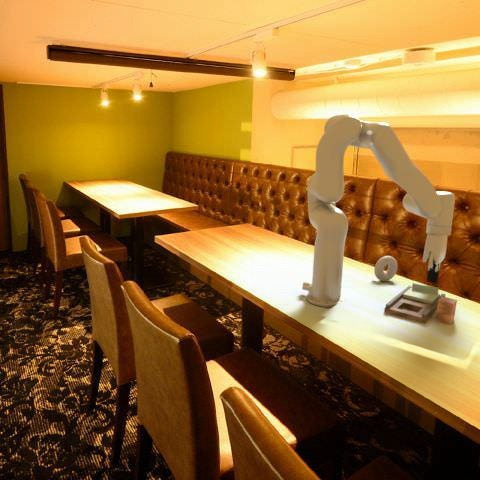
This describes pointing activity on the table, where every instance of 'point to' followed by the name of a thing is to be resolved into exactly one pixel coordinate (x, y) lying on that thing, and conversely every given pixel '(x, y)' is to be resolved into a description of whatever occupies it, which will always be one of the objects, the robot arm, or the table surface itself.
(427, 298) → the lid
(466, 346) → the table surface
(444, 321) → the block
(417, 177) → the robot arm
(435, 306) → the puzzle board
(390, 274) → the donut
